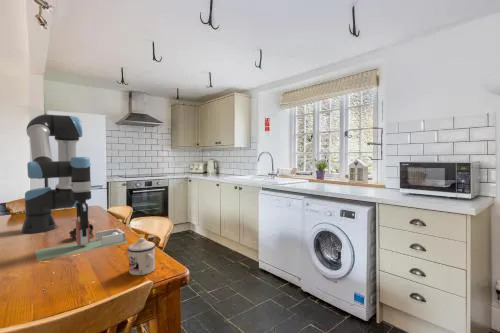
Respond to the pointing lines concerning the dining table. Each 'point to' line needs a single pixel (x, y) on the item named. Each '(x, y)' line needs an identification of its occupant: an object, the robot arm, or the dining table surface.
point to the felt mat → (69, 249)
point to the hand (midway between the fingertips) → (83, 241)
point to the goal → (110, 236)
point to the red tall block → (79, 232)
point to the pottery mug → (73, 233)
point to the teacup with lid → (141, 257)
